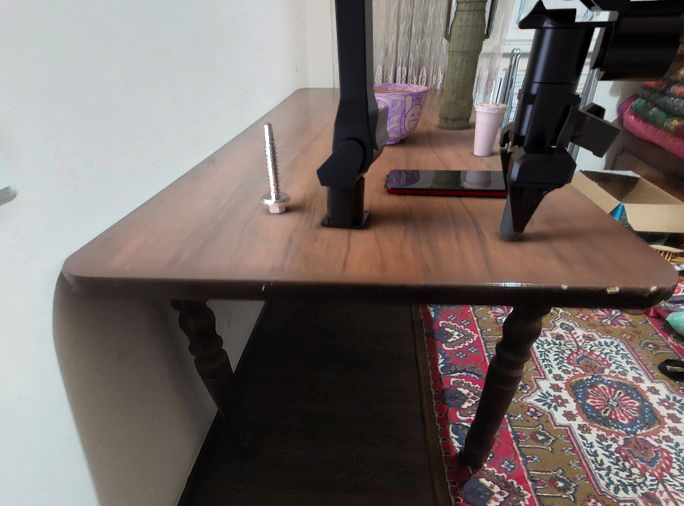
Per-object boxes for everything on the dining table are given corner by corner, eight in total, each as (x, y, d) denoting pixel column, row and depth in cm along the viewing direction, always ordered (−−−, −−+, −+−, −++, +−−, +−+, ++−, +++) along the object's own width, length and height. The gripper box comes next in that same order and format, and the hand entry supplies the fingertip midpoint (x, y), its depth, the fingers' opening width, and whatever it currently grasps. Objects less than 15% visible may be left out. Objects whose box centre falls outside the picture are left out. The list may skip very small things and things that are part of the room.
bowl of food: (429, 149, 96) (435, 92, 89) (345, 150, 97) (345, 94, 90) (417, 132, 112) (422, 82, 105) (345, 133, 113) (345, 84, 105)
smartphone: (388, 168, 80) (520, 169, 76) (387, 176, 81) (518, 178, 77) (383, 187, 71) (534, 190, 67) (383, 196, 72) (531, 199, 68)
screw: (266, 217, 64) (259, 208, 68) (295, 213, 66) (287, 204, 69) (254, 126, 56) (247, 120, 60) (288, 123, 57) (279, 117, 61)
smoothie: (491, 150, 95) (506, 78, 86) (500, 157, 90) (517, 82, 81) (464, 151, 95) (476, 79, 86) (472, 158, 90) (486, 83, 81)
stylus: (523, 243, 55) (543, 174, 49) (497, 241, 56) (514, 173, 50) (520, 234, 57) (539, 167, 52) (496, 232, 58) (512, 166, 52)
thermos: (428, 124, 120) (447, -38, 98) (467, 122, 121) (494, -39, 99) (437, 130, 113) (459, -43, 91) (478, 128, 114) (510, -44, 92)
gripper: (664, 92, 36) (596, 253, 46) (607, 72, 50) (565, 199, 60) (532, 91, 39) (494, 245, 48) (513, 72, 53) (487, 194, 62)
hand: (514, 218), depth 55 cm, fingers open, 9 cm apart
